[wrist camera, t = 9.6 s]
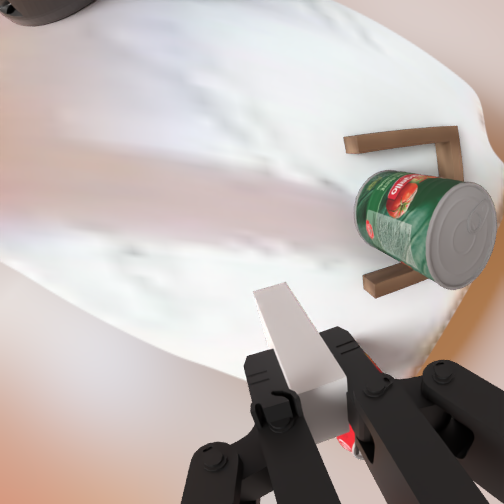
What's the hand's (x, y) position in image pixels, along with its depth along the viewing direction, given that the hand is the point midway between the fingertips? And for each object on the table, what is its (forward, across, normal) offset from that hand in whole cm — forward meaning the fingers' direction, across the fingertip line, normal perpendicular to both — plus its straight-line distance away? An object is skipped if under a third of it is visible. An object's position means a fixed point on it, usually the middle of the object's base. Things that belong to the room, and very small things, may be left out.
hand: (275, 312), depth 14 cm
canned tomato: (+14, +15, -2) cm, 20 cm away
